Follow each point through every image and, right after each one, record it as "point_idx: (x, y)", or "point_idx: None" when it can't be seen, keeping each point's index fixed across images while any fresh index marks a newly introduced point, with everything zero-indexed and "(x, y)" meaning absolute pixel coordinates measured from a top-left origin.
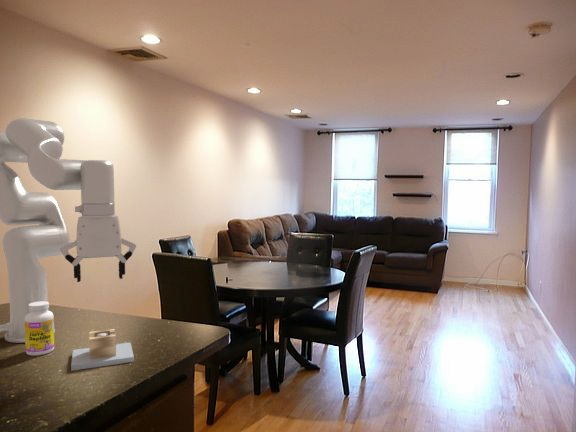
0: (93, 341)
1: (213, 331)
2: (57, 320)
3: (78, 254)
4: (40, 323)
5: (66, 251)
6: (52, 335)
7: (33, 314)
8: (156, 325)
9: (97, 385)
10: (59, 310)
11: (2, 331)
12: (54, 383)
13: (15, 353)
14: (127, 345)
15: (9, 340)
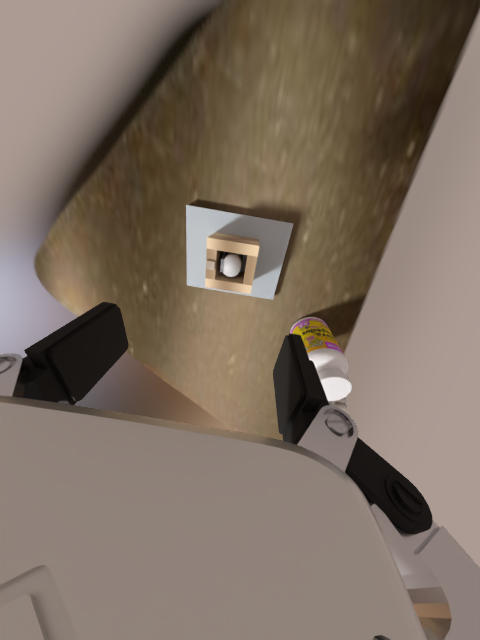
0: (251, 243)
1: (56, 280)
2: (263, 413)
3: (369, 509)
4: (326, 346)
5: (455, 593)
6: None
7: (340, 367)
8: (149, 347)
9: (269, 98)
10: None
11: None
12: (332, 171)
13: None
14: (192, 273)
15: None
